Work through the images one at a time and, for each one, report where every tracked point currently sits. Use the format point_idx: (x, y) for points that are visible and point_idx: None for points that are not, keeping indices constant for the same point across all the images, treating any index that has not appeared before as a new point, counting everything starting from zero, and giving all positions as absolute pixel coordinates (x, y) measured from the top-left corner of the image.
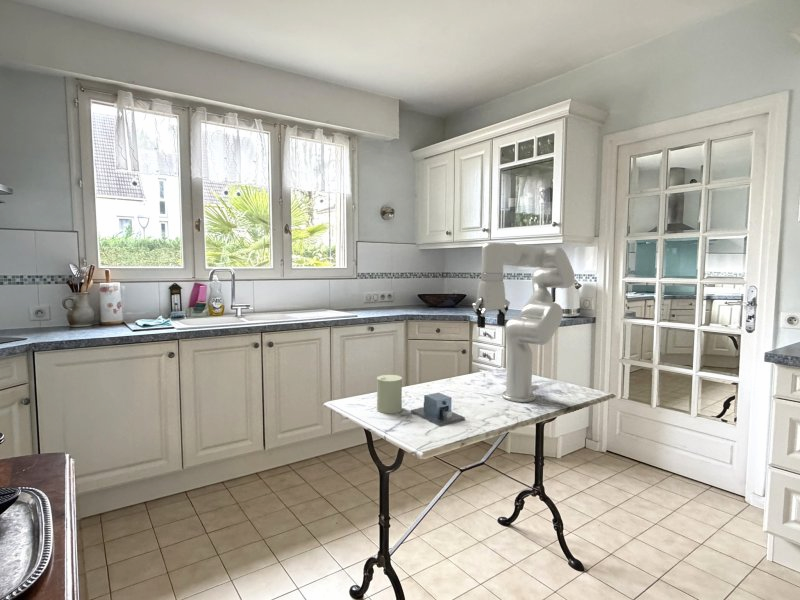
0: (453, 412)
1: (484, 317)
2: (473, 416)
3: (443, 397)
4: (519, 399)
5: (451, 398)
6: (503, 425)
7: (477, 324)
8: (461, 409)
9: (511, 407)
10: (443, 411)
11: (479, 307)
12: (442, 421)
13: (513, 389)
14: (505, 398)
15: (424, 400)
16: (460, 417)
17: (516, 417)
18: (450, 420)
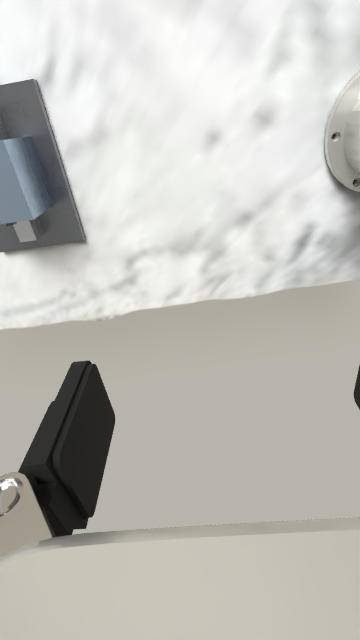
0: (68, 191)
1: (80, 516)
2: (120, 227)
3: (5, 207)
4: (340, 180)
5: (34, 218)
6: (156, 306)
7: (67, 375)
8: (116, 154)
9: (273, 209)
10: (14, 225)
11: (43, 580)
12: (12, 242)
13: (357, 152)
14: (327, 125)
15: None
16: (71, 237)
17: (221, 279)
18: (36, 245)
